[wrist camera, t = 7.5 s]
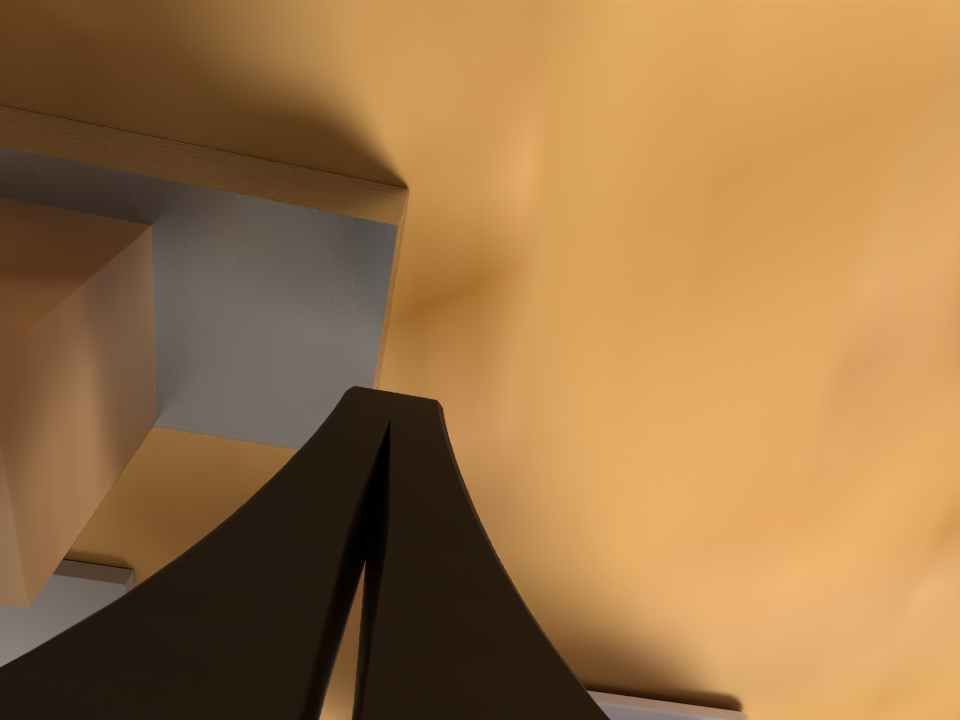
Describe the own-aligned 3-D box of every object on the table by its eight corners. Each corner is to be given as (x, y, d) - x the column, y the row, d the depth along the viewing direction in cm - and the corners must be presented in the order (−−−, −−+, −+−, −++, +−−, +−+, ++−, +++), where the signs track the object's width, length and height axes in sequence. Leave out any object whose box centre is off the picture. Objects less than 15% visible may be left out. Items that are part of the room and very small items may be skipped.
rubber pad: (133, 570, 19) (125, 584, 18) (142, 726, 22) (135, 742, 22) (-152, 528, 18) (-168, 543, 18) (-97, 697, 21) (-109, 712, 21)
